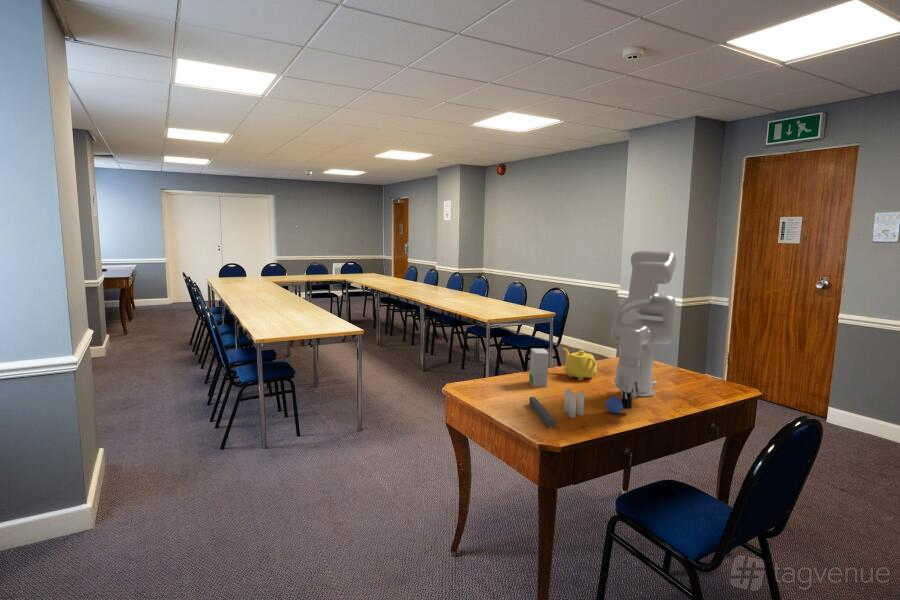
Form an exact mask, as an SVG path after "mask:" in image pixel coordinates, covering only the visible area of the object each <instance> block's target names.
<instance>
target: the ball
mask: <svg viewBox="0 0 900 600" xmlns="http://www.w3.org/2000/svg"><path fill="white" fill-rule="evenodd" d="M605 407H606V409H607V410H608V412H609V413H611V414H619V413H621V412H622V410H623V403H622V399H620V398H619V397H615V396H614V397H613V396H611V397H609V398H608V399H607V400H606V402H605Z"/></svg>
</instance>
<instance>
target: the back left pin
mask: <svg viewBox="0 0 900 600" xmlns="http://www.w3.org/2000/svg"><path fill="white" fill-rule="evenodd" d="M577 397H578V394H576V393H572V392H571V394H570V400H569V413H568V417H569V418H570V417H571V419H576V417H577V416H576V415H577Z"/></svg>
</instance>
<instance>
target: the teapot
mask: <svg viewBox="0 0 900 600" xmlns="http://www.w3.org/2000/svg"><path fill="white" fill-rule="evenodd" d="M562 350H564V352H565V353H564V354H565V364H564V372H565V374H566V375H568V376H569V377H568V376H567V377H568V378H577V381H580V380H583V381H584V379H585V378H586V379H589V378H592V379H593V376H595V375H596V374H597V371H598V367H597V362H596V359H595V356H594V355H593V354H592V353H588V352H585V350H583V349H582V350H578V352H576V351H575V352H572V353H570V352H569V349H568V348H565V347H563V348H562Z"/></svg>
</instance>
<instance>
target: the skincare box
mask: <svg viewBox="0 0 900 600" xmlns="http://www.w3.org/2000/svg"><path fill="white" fill-rule="evenodd" d="M529 359H530V360H529V376H528V378H529V379H528V382H529V383H530V385H531V386H532V387H533V388H547V387H548V386H547V385H548V374H549V373H548V371H549V361H550V360H549V359H550V353H549V352H548V351H547V350H546V349H545V348H535V347H534V348H530V358H529Z"/></svg>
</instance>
